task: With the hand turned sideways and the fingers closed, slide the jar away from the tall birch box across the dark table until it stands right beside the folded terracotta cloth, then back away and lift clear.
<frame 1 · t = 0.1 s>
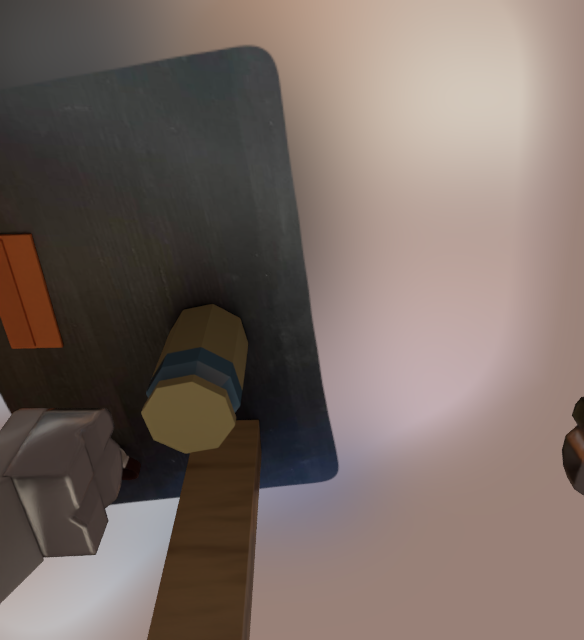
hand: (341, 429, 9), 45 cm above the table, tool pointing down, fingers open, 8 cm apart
jar: (210, 334, 61), on the table
tall box: (230, 437, 69), on the table
cloth: (22, 293, 59), on the table
watch: (114, 456, 71), on the table
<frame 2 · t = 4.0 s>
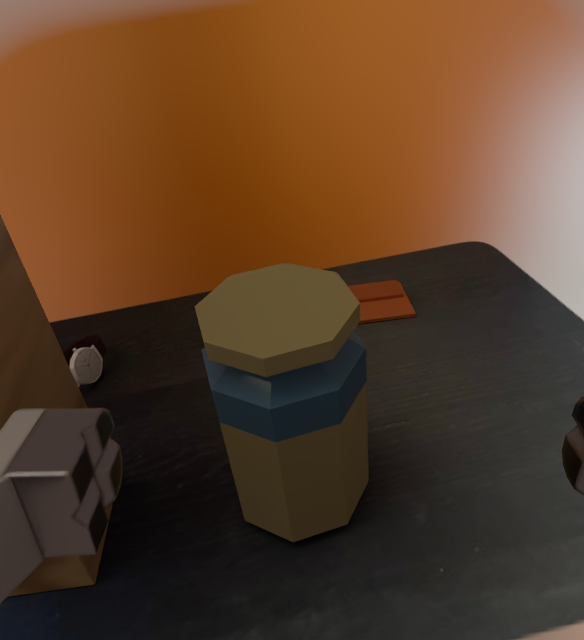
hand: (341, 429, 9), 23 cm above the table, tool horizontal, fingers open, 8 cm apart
jar: (301, 488, 36), on the table
tall box: (63, 531, 35), on the table
cloth: (338, 308, 53), on the table
watch: (78, 379, 48), on the table
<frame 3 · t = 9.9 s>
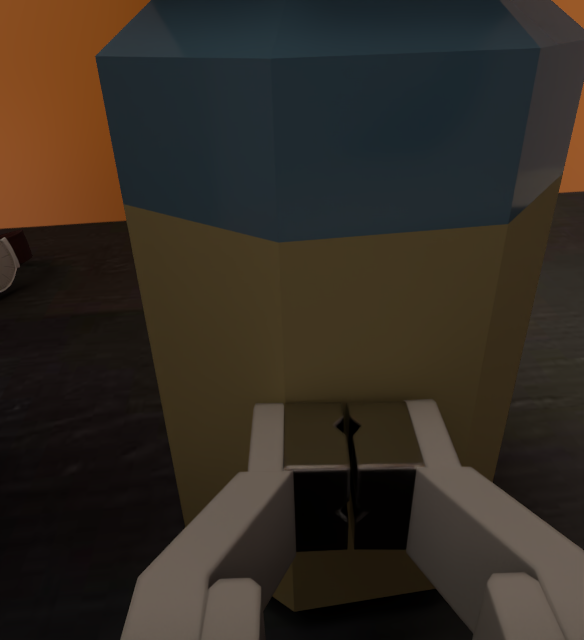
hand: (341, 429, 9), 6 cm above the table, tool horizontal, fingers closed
jar: (329, 488, 16), on the table, touching gripper
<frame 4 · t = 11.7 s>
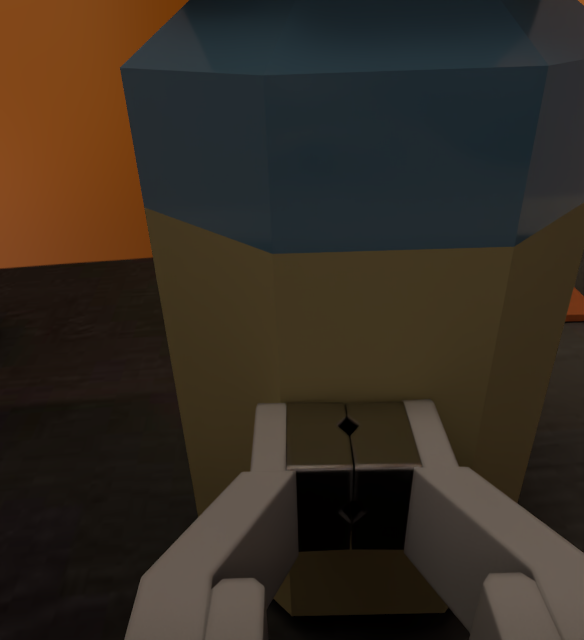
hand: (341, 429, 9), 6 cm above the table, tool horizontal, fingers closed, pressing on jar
jar: (348, 497, 16), on the table, touching gripper
cloth: (436, 295, 27), on the table
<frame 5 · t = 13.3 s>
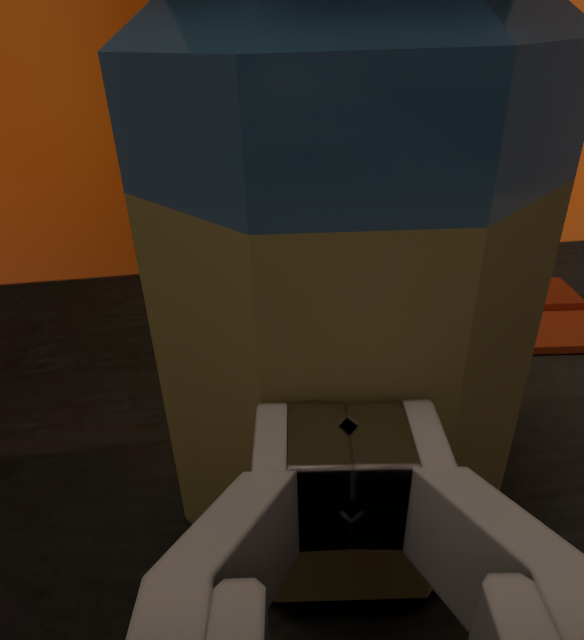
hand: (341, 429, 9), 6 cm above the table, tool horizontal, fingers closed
jar: (334, 487, 16), on the table
cloth: (442, 321, 25), on the table
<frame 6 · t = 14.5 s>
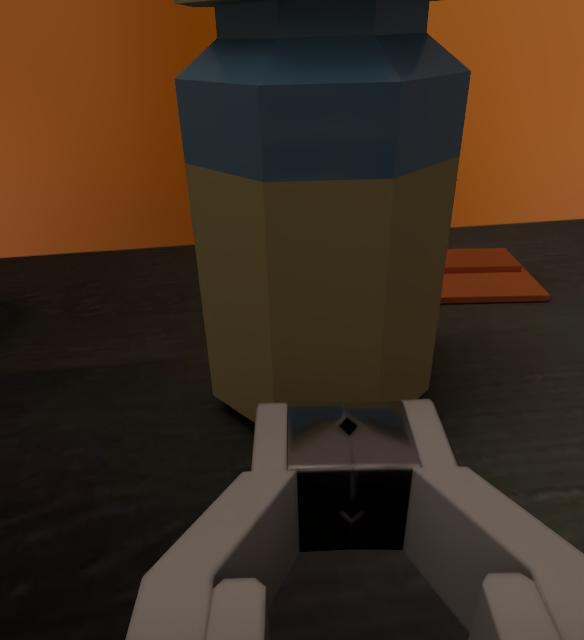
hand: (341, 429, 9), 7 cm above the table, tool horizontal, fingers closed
jar: (318, 384, 22), on the table
cloth: (407, 280, 31), on the table
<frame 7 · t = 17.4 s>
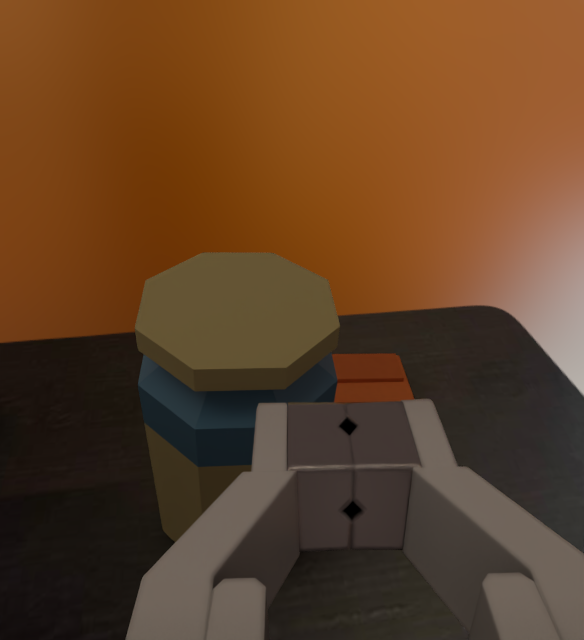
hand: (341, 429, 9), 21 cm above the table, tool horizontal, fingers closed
jar: (239, 508, 31), on the table
cloth: (316, 386, 39), on the table
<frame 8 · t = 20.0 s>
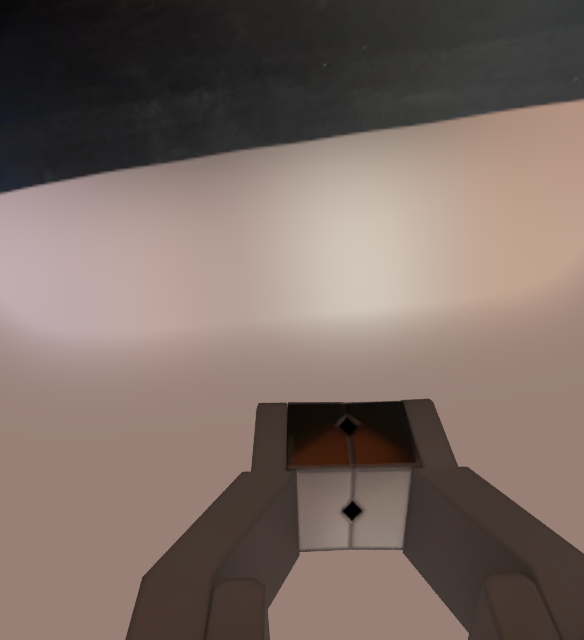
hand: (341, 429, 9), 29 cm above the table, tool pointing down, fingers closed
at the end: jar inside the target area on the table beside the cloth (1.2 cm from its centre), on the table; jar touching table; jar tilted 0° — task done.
